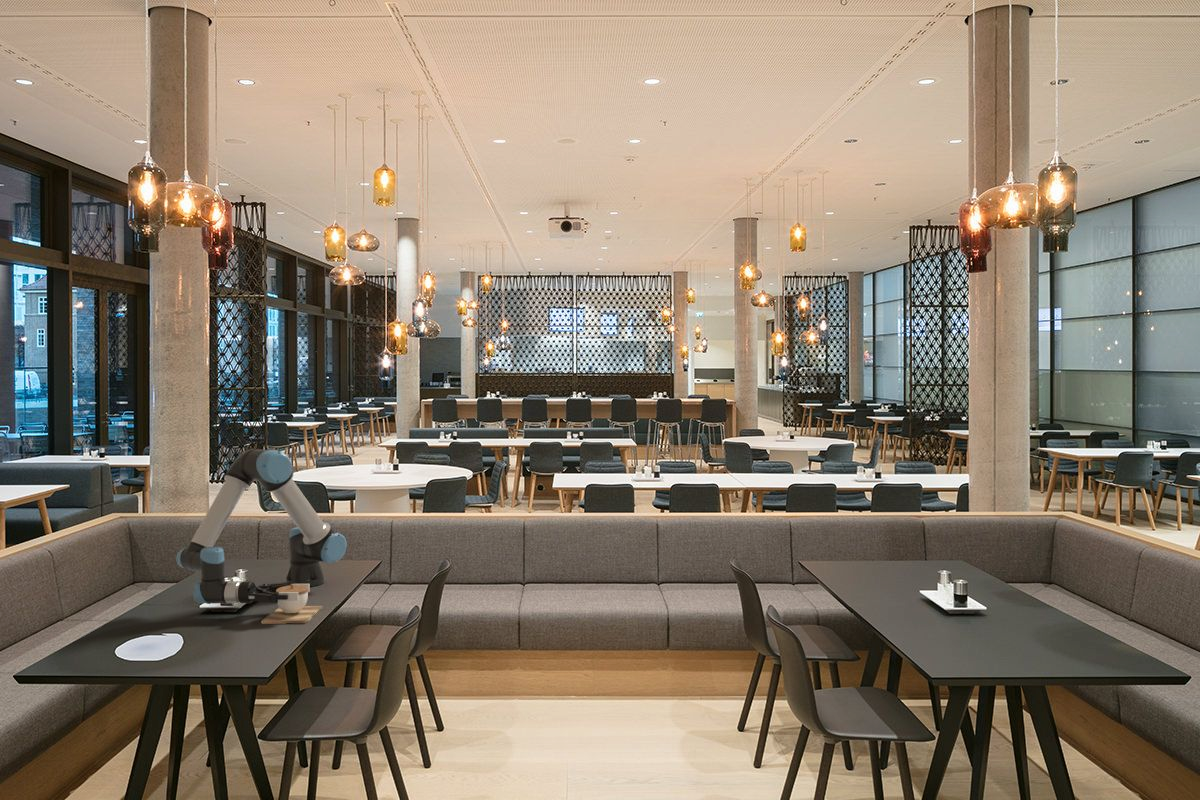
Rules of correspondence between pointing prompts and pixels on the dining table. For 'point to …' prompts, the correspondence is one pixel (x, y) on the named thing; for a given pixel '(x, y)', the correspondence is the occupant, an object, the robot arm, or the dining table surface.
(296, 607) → the lidded jar
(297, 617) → the wooden cutting board
